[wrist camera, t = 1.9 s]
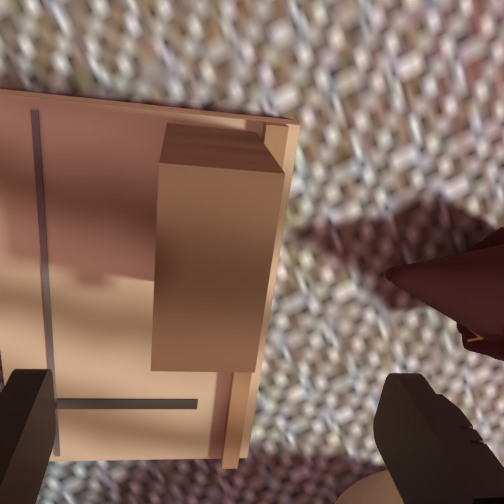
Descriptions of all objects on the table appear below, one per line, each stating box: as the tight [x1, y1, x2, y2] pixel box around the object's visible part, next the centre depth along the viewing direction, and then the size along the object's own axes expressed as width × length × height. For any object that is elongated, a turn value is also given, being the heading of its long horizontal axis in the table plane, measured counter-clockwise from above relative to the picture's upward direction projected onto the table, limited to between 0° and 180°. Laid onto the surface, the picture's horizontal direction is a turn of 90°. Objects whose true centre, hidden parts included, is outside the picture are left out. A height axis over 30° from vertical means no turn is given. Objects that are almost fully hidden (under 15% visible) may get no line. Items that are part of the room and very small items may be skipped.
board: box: [0, 89, 300, 469], centre depth 25 cm, size 21×14×2 cm, turn 173°
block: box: [151, 123, 285, 373], centre depth 20 cm, size 9×4×7 cm, turn 173°
